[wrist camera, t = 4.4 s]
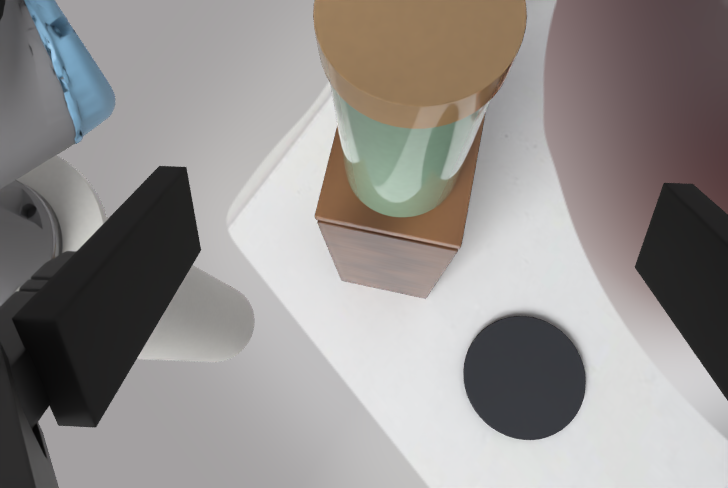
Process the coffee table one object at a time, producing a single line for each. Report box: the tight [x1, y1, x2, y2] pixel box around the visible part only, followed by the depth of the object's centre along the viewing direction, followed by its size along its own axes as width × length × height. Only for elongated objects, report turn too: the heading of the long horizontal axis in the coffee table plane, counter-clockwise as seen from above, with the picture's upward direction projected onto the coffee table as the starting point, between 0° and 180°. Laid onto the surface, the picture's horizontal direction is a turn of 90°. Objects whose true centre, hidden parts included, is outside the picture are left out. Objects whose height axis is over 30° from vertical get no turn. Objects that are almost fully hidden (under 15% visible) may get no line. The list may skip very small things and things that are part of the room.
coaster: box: [464, 316, 586, 440], centre depth 44 cm, size 10×10×1 cm
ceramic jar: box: [313, 0, 527, 217], centre depth 21 cm, size 6×6×12 cm
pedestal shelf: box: [315, 112, 486, 299], centre depth 37 cm, size 8×8×20 cm
